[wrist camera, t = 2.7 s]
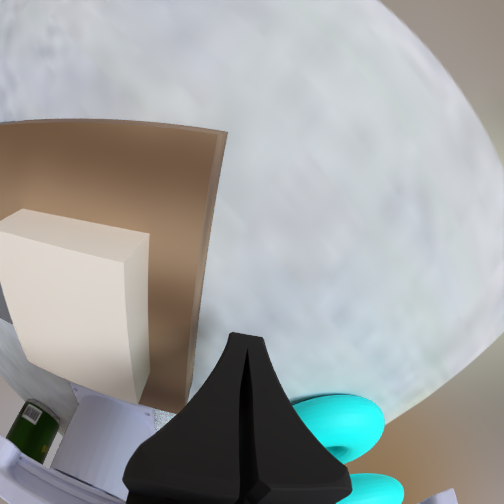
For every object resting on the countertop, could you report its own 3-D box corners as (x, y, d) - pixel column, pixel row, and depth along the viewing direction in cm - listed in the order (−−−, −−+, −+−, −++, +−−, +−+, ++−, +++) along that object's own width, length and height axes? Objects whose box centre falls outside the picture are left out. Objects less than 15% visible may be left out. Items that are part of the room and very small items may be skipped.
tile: (150, 370, 14) (137, 405, 12) (47, 335, 13) (28, 361, 11) (149, 233, 10) (123, 262, 8) (22, 208, 10) (-11, 227, 8)
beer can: (21, 392, 23) (-17, 460, 12) (51, 406, 23) (14, 483, 12) (38, 415, 26) (7, 479, 15) (67, 428, 26) (38, 499, 15)
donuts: (365, 506, 9) (425, 503, 11) (337, 369, 18) (397, 410, 20) (230, 531, 12) (318, 537, 15) (238, 424, 21) (312, 453, 24)
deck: (191, 381, 18) (184, 415, 16) (49, 337, 18) (31, 362, 15) (227, 131, 12) (217, 134, 9) (24, 120, 11) (-12, 126, 8)
